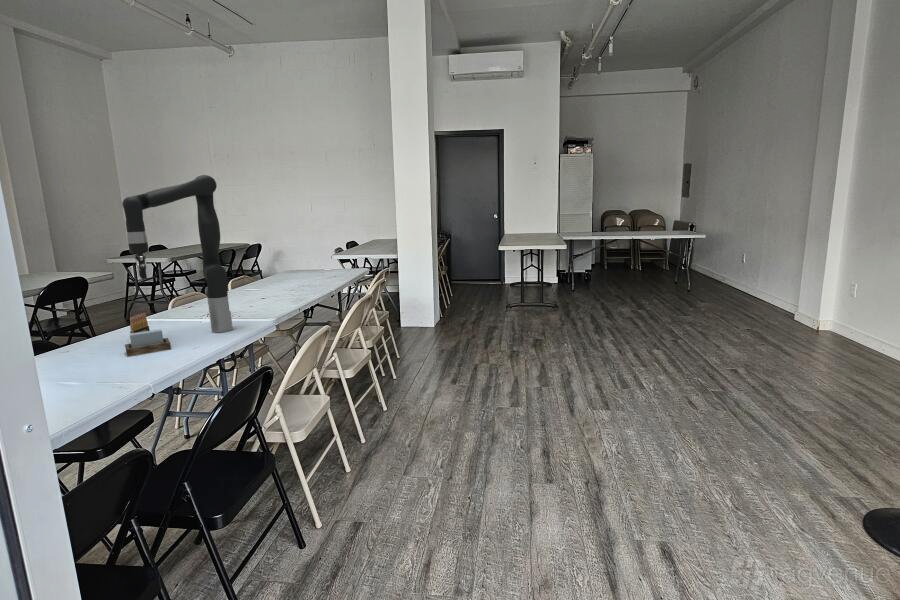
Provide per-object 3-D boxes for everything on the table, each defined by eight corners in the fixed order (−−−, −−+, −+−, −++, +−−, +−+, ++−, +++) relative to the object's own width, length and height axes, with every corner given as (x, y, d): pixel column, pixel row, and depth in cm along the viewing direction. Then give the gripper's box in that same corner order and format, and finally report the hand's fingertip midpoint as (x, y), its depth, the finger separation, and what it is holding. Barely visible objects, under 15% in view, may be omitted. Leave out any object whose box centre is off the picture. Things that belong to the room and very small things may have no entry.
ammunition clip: (135, 341, 237) (131, 316, 235) (131, 341, 237) (127, 316, 235) (150, 335, 247) (147, 311, 245) (147, 335, 248) (143, 311, 245)
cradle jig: (168, 344, 231) (167, 337, 230) (171, 349, 223) (170, 342, 222) (126, 351, 221) (124, 344, 221) (127, 356, 214) (126, 349, 213)
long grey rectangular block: (163, 344, 227) (161, 329, 225) (164, 346, 224) (161, 330, 222) (131, 349, 220) (129, 333, 219) (132, 351, 217) (129, 335, 216)
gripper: (148, 242, 223) (154, 278, 227) (146, 240, 235) (151, 275, 238) (129, 243, 219) (134, 280, 223) (127, 241, 231) (132, 277, 234)
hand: (143, 277), depth 230 cm, fingers open, 8 cm apart
